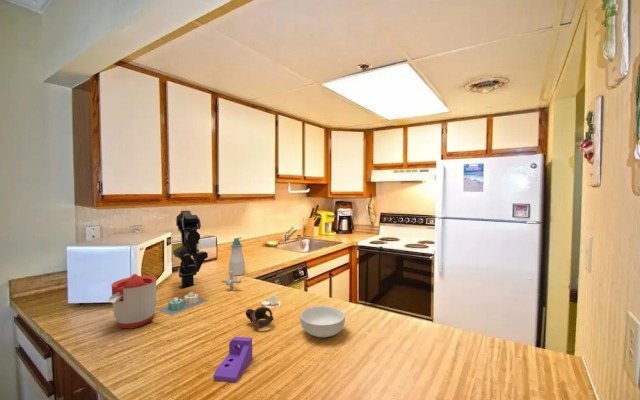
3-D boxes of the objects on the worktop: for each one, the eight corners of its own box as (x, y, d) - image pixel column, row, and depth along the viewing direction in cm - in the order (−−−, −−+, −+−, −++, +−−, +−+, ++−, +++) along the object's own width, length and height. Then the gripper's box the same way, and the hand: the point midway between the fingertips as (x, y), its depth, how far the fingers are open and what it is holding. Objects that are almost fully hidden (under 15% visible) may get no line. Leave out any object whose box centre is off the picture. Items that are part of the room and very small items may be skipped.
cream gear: (180, 303, 136) (180, 296, 136) (192, 298, 142) (192, 292, 142) (189, 305, 133) (189, 299, 133) (201, 301, 139) (201, 294, 139)
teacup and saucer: (259, 307, 135) (259, 298, 135) (267, 301, 143) (267, 292, 143) (276, 309, 133) (276, 300, 133) (283, 302, 141) (283, 294, 140)
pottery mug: (276, 320, 122) (277, 308, 118) (266, 340, 114) (267, 327, 110) (249, 311, 124) (250, 298, 119) (238, 330, 116) (238, 317, 111)
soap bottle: (248, 273, 188) (247, 237, 187) (236, 277, 180) (235, 240, 179) (237, 270, 193) (237, 236, 193) (225, 274, 185) (225, 238, 184)
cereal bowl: (312, 349, 100) (312, 328, 99) (293, 328, 114) (293, 310, 114) (353, 337, 107) (353, 318, 107) (331, 319, 122) (331, 302, 122)
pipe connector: (243, 287, 161) (243, 269, 161) (237, 294, 151) (236, 274, 151) (226, 286, 162) (226, 269, 162) (218, 293, 152) (218, 274, 152)
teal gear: (165, 308, 130) (165, 302, 130) (178, 304, 135) (178, 297, 135) (174, 311, 127) (174, 304, 127) (187, 306, 132) (186, 300, 132)
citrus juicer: (98, 329, 113) (96, 278, 113) (139, 311, 130) (138, 267, 129) (127, 336, 108) (125, 283, 107) (166, 317, 124) (165, 270, 124)
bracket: (232, 356, 95) (231, 336, 95) (252, 358, 94) (252, 337, 94) (213, 380, 84) (212, 357, 83) (236, 383, 82) (235, 359, 82)
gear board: (156, 312, 129) (156, 299, 129) (194, 298, 145) (194, 287, 145) (171, 318, 123) (171, 304, 123) (209, 302, 140) (209, 291, 139)
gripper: (164, 240, 145) (165, 272, 146) (188, 244, 136) (188, 277, 136) (184, 237, 155) (185, 266, 155) (208, 240, 145) (208, 271, 146)
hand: (191, 270), depth 148 cm, fingers open, 9 cm apart
